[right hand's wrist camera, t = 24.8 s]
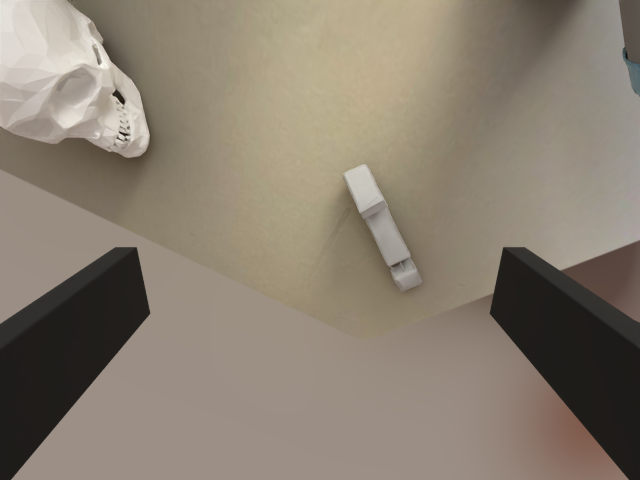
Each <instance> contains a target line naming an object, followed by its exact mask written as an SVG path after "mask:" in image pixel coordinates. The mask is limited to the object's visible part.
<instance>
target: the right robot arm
mask: <svg viewBox="0 0 640 480" xmlns="http://www.w3.org/2000/svg"><path fill="white" fill-rule="evenodd" d="M619 4H620V12H621V20H622V27H623V35H624V42H625V47H624V49H623V59H624V61H625V62H626V64H627V65H628V70H629V75H630V80H631V85H632V88H633V90H634V92H635V93H636V94H638V95H639V96H640V0H619ZM149 314H150V310H149V305H148V300H147V295H146V290H145V285H144V281H143V276H142V271H141V266H140V261H139V256H138V251H137V248H136V247H115V248H114V249H112V250H111V251H109V252H108V253H106V254H105V255H103V256H102V257H100V258H99V259H97V260H96V261H94V262H93V263H91V264H90V265H88V266H87V267H85V268H84V269H82V270H81V271H79V272H78V273H76V274H75V275H73V276H72V277H70V278H69V279H67V280H66V281H64V282H63V283H61V284H60V285H58V286H57V287H55V288H54V289H52V290H51V291H49V292H47V293H46V294H44V295H43V296H41V297H40V298H39V299H37V300H35V301H34V302H32V303H31V304H29V305H28V306H26V307H25V308H23V309H22V310H20V311H19V312H17V313H16V314H14V315H13V316H12V317H10V318H8V319H7V320H5V321H4V322H3V323H1V324H0V480H11V479H12V478H13V477H14V475H15V474H16V473H17V472H18V471H19V469H20V468H21V467H22V466H23V465H24V463H25V462H26V461H27V460H28V459H29V458H30V456H31V455H32V454H33V453H34V452H35V450H36V449H37V448H38V447H39V446H40V444H41V443H42V442H43V441H44V440H45V438H46V437H47V436H48V435H49V434H50V433H51V431H52V430H53V429H54V428H55V427H56V425H57V424H58V423H59V422H60V421H61V419H62V418H63V417H64V416H65V415H66V413H67V412H68V411H69V410H70V409H71V407H72V406H73V405H74V404H75V403H76V401H77V400H78V399H79V398H80V397H81V396H82V394H83V393H84V392H85V391H86V389H87V388H88V387H89V386H90V385H91V384H92V382H93V381H94V380H95V379H96V378H97V376H98V375H99V374H100V373H101V372H102V370H103V369H104V368H105V367H106V366H107V365H108V363H109V362H110V361H111V360H112V359H113V357H114V356H115V355H116V354H117V353H118V351H119V350H120V349H121V348H122V347H123V345H124V344H125V343H126V342H127V341H128V339H129V338H130V337H131V336H132V335H133V333H134V332H135V331H136V330H137V329H138V328H139V326H140V325H141V324H142V323H143V321H144V320H145V319H146V318H147V317H148V316H149ZM490 314H491V316H492V317H493V318H494V319H495V320H496V322H497V323H498V324H499V325H500V326H501V327H502V329H503V330H504V331H505V332H506V333H507V335H508V336H509V337H510V338H511V339H512V341H513V342H514V343H515V344H516V345H517V347H518V348H519V349H520V350H521V351H522V353H523V354H524V355H525V356H526V357H527V359H528V360H529V361H530V362H531V363H532V364H533V366H534V367H535V368H536V369H537V370H538V372H539V373H540V374H541V375H542V376H543V378H544V379H545V380H546V381H547V382H548V384H549V385H550V386H551V387H552V388H553V390H554V391H555V392H556V393H557V394H558V396H559V397H560V398H561V399H562V400H563V401H564V403H565V404H566V405H567V406H568V407H569V409H570V410H571V411H572V412H573V413H574V415H575V416H576V417H577V418H578V419H579V421H580V422H581V423H582V424H583V425H584V427H585V428H586V429H587V430H588V431H589V432H590V434H591V435H592V436H593V437H594V438H595V440H596V441H597V442H598V443H599V444H600V446H601V447H602V448H603V449H604V450H605V452H606V453H607V454H608V455H609V456H610V458H611V459H612V460H613V461H614V462H615V464H616V465H617V466H618V467H619V468H620V469H621V471H622V472H623V473H624V474H625V475H626V477H627V478H628V479H629V480H640V323H639V322H637V321H635V320H633V319H632V318H630V317H629V316H627V315H626V314H624V313H623V312H621V311H620V310H618V309H617V308H615V307H614V306H612V305H611V304H609V303H607V302H606V301H605V300H603V299H601V298H600V297H599V296H597V295H595V294H594V293H593V292H591V291H589V290H588V289H586V288H585V287H583V286H582V285H580V284H579V283H577V282H576V281H574V280H573V279H571V278H570V277H568V276H567V275H565V274H564V273H562V272H561V271H559V270H558V269H556V268H555V267H553V266H552V265H550V264H549V263H547V262H546V261H544V260H543V259H541V258H540V257H538V256H537V255H535V254H534V253H532V252H531V251H529V250H528V249H526V248H525V247H503V251H502V256H501V261H500V266H499V271H498V276H497V281H496V285H495V290H494V295H493V300H492V305H491V310H490Z"/></svg>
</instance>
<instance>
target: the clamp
mask: <svg viewBox="0 0 640 480" xmlns="http://www.w3.org/2000/svg"><path fill="white" fill-rule="evenodd" d="M343 179H344V181H345V183H346V184H347V186H348V188H349V190H350V193H351V195H352V197H353V199H354V201H355V204H356V206H357V208H358V210H359V212H360V214H361V216H362V218H363V219H365V221H366V223H367V225H368V227H369V229H370V231H371V233H372V235H373V237H374V239H375V241H376V243H377V245H378V247H379V250H380V252H381V254H382V256H383V258H384V260H385V263H386V264H387V265H388V266H390V268H391V270H390V271H391V275H392V278H393V280H394V282H395V284H396V285H397V287H398V288H399V289H400V290H401V292H404V291H406V290H408V289H411V288H413V287H415V286H417V285H420V284H422V279H421V277H420V275H419V272H418V270H417V269H416V267H415V265H414V263H413V261H412V259H411V258H410V256H411V255H410V252H409V250H408V248H407V246H406V244H405V242H404V240H403V238H402V236H401V234H400V232H399V230H398V228H397V226H396V224H395V222H394V220H393V218H392V216H391V214H390V211H389V209H388V205H387V203H386V201H385V199H384V197H383V195H382V193H381V191H380V189H379V187H378V185H377V183H376V181H375V179H374V177H373V175H372V173H371V171H370V169H369V167H368V165H365V164H362V165H359V166H357V167H355V168H353V169H351V170H349V171H347V172H344V173H343ZM406 258H407V259H406ZM404 259H405V260H404ZM402 260H404V261H403V262H401V261H402ZM398 262H400V264H399V265H397V266H395V267H393V268H392V266H391V265H393V264H395V263H398Z"/></svg>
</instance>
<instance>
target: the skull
mask: <svg viewBox="0 0 640 480" xmlns="http://www.w3.org/2000/svg"><path fill="white" fill-rule="evenodd" d="M101 44H103V38H102V37H101V35H100V33H99V32H98V31H97V29H96V27H95V25H94V22H93V21H92V20H90V19H89V18H88V17H86V16H85V15H84V14H82V13H81V12H79V11H78V10H77V9H76V8H74V7H73V6H72V5H71V4H70V3H69V2H68V1H67V0H0V126H1V127H3V128H4V129H6V130H8V131H10V132H11V133H13V134H16V135H20V136H23V137H26V138H30V139H34V140H38V141H42V142H46V143H50V144H57V143H59V142H60V141H62V140H63V139H64V138H66V137H67V138H85V139H86V140H88V141H90V142H91V143H93V144H95V145H96V146H99V147H101V148H103V149H105V150H107V151H109V152H110V151H113V152H117V153H119V154H121V155H122V156H124V157H127V158H131V157H137V156H141V155H142V154H143V153H144V152H145V151H146V150H147V147H148V145H149V140H150V134H149V130H148V126H147V123H146V118H145V114H144V110H143V106H142V101H141V97H140V93H139V91H138V90H137V88H136V86H135V85H134V83H133V82H132V80H131V79H130V78H129V77H128V76H126V75H125V74H124V73H123V72H122V71H121V70H120V69H118V68H117V66H115V65H114V64H113V63H112V62H111V61H110V59H109V57H108V55H107V53H106V51H105V50H104V48H103V46H102V45H101ZM97 59H98V61H99V63H100V65H98V61H97ZM116 89H117V90H118V92H119V93H120V94H121V95H122V96H123V98H124V100H125V104H124V105H123V104H122V103H120V102H119V100H118V99H117V98H116V97H113V95H112V93H114V91H115V90H116ZM122 107H123V108H122ZM124 114H125V115H124ZM120 121H121V122H123V123H124V124H123V123H121V122H120ZM120 126H121V127H123V128H125V129H123V128H120ZM127 127H128V129H127ZM119 131H120V132H123V133H127V134H128V136H126V137H125V136H123V135H122V134H120V133H119ZM117 136H118V137H119V138H120V139H122V140H123V141H121V140H118V139H116V138H117ZM125 138H127V139H128V140H127V141H125Z"/></svg>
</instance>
